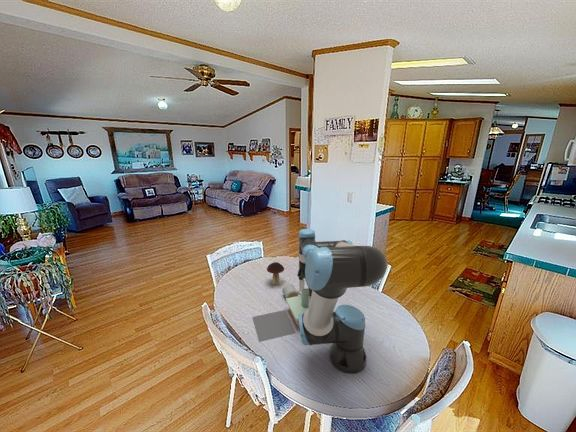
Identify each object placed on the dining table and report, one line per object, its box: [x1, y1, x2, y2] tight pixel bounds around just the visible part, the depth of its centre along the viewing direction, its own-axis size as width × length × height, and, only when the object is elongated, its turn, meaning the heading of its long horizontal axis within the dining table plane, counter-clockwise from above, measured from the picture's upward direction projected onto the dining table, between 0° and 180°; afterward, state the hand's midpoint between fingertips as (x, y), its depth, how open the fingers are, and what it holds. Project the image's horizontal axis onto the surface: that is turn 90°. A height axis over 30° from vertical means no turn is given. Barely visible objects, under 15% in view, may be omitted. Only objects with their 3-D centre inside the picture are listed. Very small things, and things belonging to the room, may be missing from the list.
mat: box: [251, 309, 297, 343], centre depth 129 cm, size 18×18×1 cm
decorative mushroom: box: [266, 261, 285, 286], centre depth 163 cm, size 11×11×15 cm
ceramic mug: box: [281, 283, 302, 299], centre depth 149 cm, size 11×8×8 cm
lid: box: [285, 288, 309, 321], centre depth 132 cm, size 17×17×9 cm
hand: (306, 298), depth 131 cm, fingers open, 13 cm apart
